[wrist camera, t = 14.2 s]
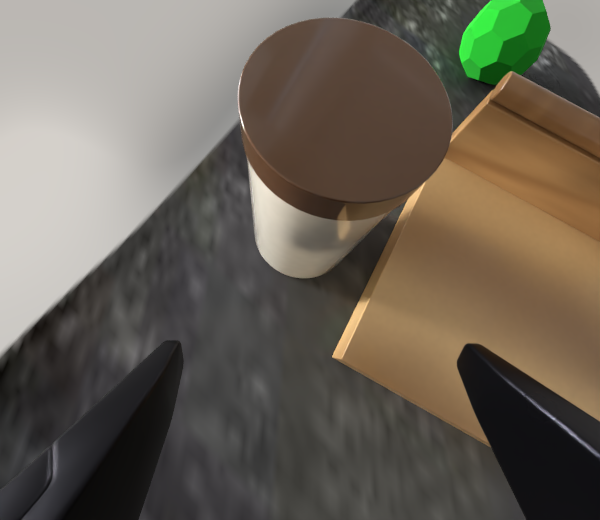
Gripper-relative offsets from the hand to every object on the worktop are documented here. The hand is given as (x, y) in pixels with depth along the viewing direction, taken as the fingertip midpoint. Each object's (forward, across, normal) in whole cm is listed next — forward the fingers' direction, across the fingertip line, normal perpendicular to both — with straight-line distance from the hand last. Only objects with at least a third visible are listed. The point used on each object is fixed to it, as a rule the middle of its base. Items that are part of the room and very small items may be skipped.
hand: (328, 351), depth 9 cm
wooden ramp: (+6, -11, +3) cm, 13 cm away
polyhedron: (+19, -13, -9) cm, 25 cm away
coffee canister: (+9, 0, 0) cm, 9 cm away
